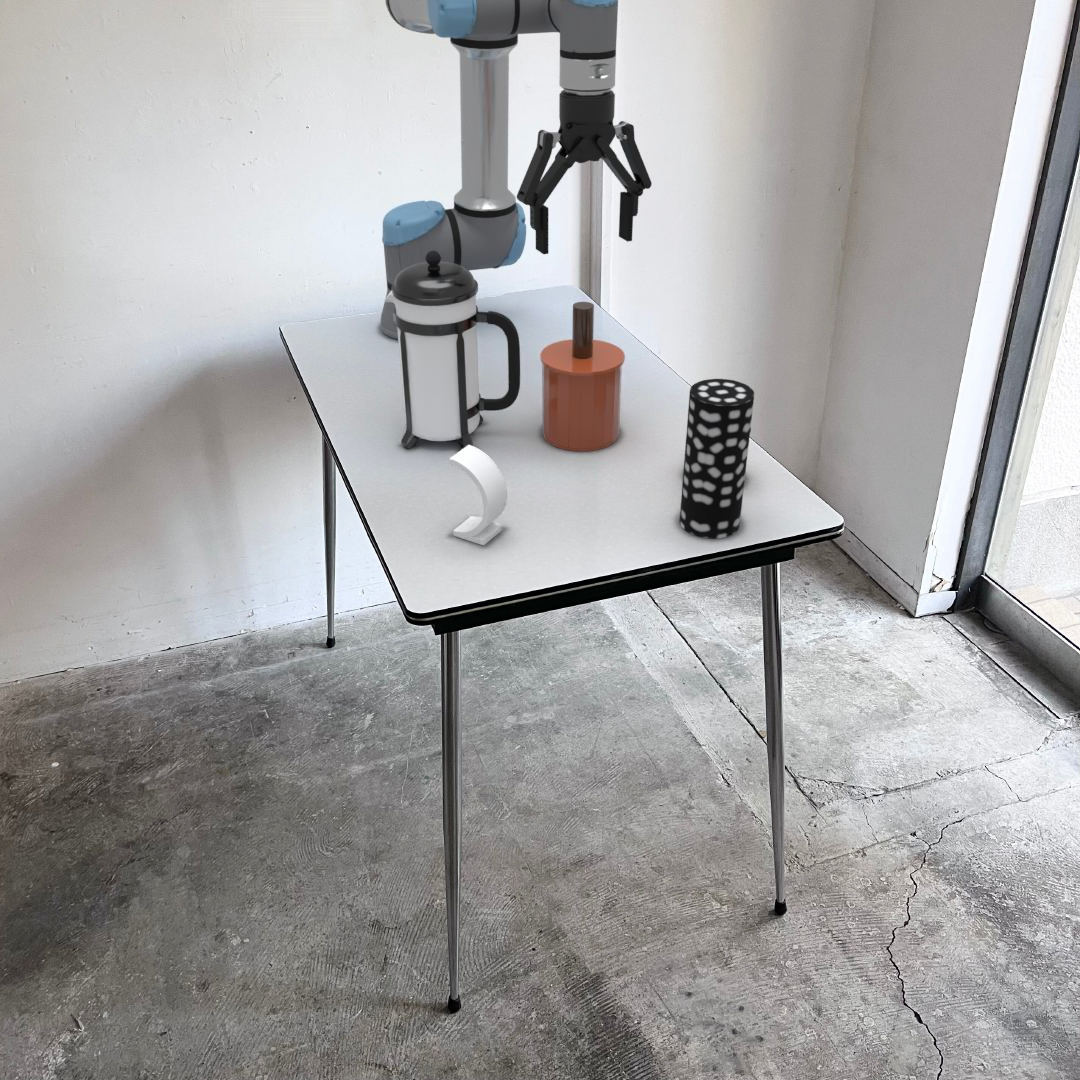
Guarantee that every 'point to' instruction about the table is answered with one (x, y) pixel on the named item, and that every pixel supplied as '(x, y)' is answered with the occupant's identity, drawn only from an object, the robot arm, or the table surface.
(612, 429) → the canister
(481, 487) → the headphone stand
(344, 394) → the table surface
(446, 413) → the coffee press
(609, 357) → the lid
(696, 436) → the white-spotted black cylinder
